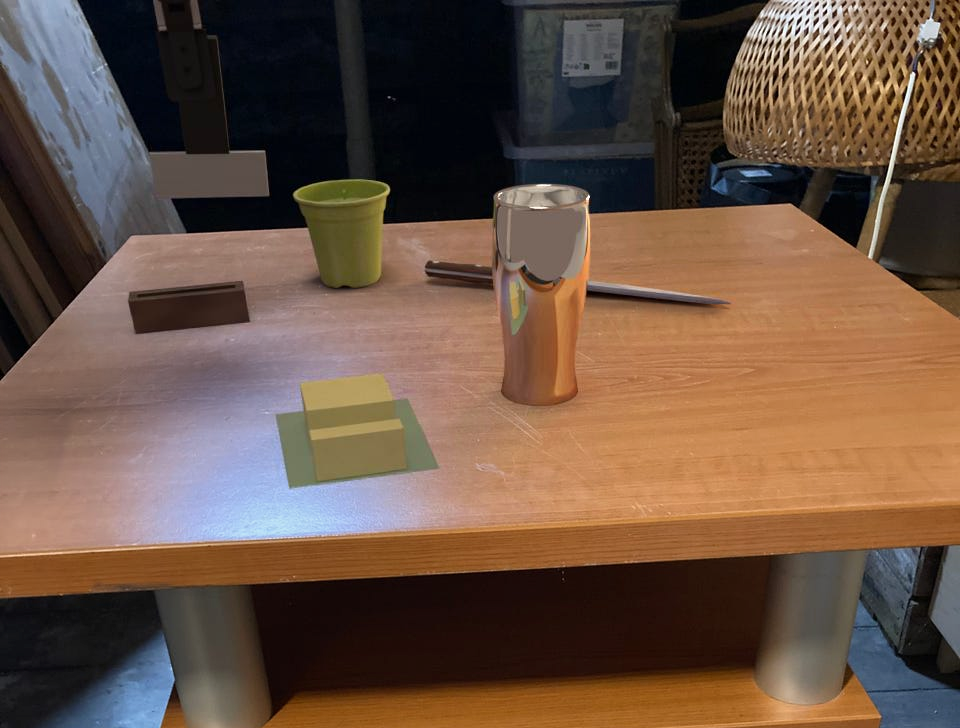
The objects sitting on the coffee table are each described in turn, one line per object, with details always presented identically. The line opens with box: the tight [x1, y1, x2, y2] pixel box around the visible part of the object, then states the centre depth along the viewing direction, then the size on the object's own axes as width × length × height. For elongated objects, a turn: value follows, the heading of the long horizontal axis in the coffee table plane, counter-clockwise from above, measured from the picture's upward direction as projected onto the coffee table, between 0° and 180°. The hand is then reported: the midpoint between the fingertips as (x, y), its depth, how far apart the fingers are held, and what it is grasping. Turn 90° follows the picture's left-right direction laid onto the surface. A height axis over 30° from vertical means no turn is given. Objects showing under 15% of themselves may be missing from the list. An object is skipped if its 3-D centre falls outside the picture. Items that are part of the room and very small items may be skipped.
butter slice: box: [309, 419, 407, 481], centre depth 66 cm, size 6×2×3 cm, turn 104°
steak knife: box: [424, 260, 732, 305], centre depth 98 cm, size 5×31×2 cm, turn 71°
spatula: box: [148, 34, 270, 200], centre depth 69 cm, size 8×2×10 cm, turn 104°
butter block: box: [299, 372, 395, 444], centre depth 71 cm, size 6×5×3 cm
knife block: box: [127, 280, 251, 334], centre depth 93 cm, size 10×3×3 cm, turn 104°
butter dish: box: [275, 397, 440, 490], centre depth 71 cm, size 10×12×1 cm
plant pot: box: [292, 178, 391, 289], centre depth 100 cm, size 9×9×9 cm
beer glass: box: [491, 183, 591, 407], centre depth 72 cm, size 7×7×15 cm
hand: (192, 94), depth 68 cm, fingers closed on spatula, 2 cm apart
